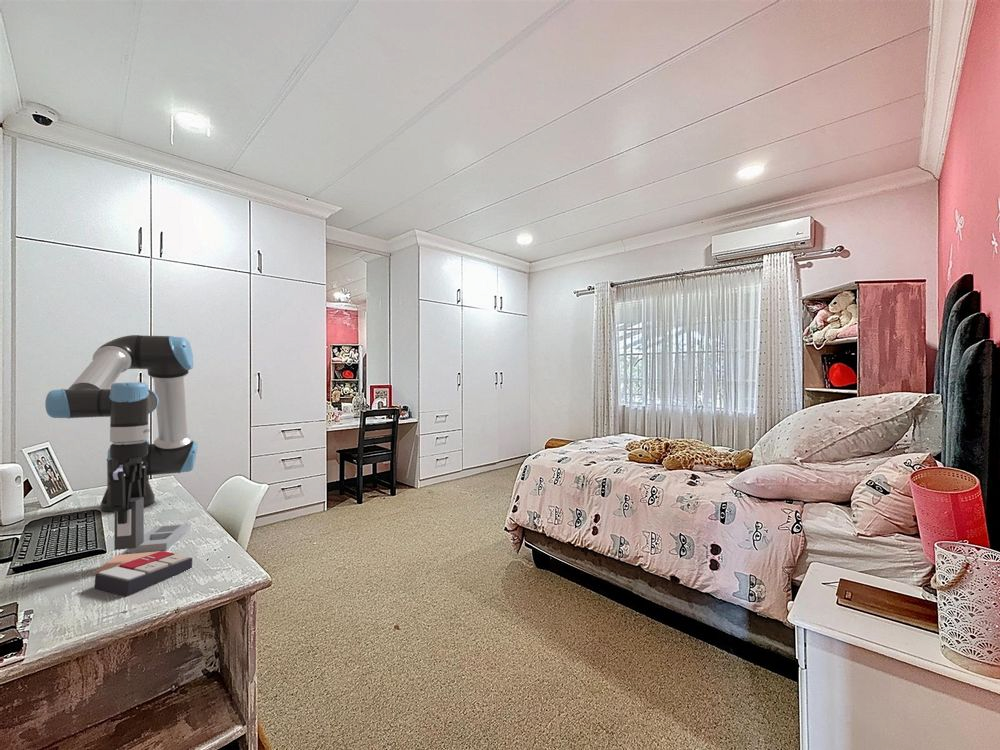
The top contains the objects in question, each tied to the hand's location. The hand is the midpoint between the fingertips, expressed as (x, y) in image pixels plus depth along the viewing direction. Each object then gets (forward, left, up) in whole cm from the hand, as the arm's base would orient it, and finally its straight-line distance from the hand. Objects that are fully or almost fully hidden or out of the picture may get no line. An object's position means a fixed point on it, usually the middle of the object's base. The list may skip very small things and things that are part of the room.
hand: (129, 532), depth 112 cm
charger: (0, 0, -4) cm, 4 cm away
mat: (0, 0, -8) cm, 8 cm away
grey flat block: (-15, +1, -8) cm, 17 cm away
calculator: (+10, +8, -9) cm, 16 cm away
